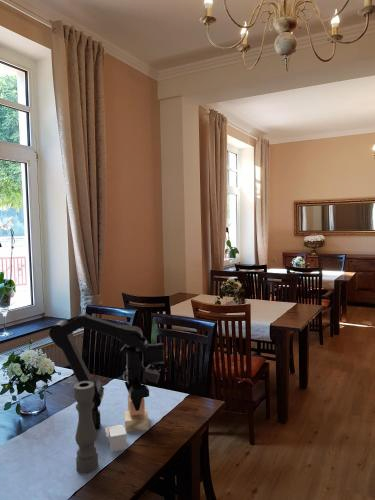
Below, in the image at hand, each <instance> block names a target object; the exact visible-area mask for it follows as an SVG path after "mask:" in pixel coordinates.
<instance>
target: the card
mask: <svg viewBox="0 0 375 500" xmlns="http://www.w3.org/2000/svg"><path fill="white" fill-rule="evenodd" d="M121 426H123V424H117V425H112V426H107V427H104V431H105V436H106V438H109V429H110V428H115V427H121Z"/></svg>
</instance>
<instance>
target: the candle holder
mask: <svg viewBox="0 0 375 500" xmlns="http://www.w3.org/2000/svg"><path fill="white" fill-rule="evenodd" d="M73 393H74V395H73V396H74V399H75V402H77V403H76V405H75V410H77V413H78V421H77V426H76V431H75V442H76V444H77V445H78V450H77V451H76V457H75V462H76V463H75V465H76V471H77V473H79V474H83V475H86V474H87V475H88V474H92V473H93V472H95V471H96V470H97V469H98V467H99V455H98V454H99V453H98V450H97V448H96V447H95V443H96V441H97V438H98V434H97V430H96V429H95V426H94V422H93V419H92V408H93V407H94V403H93V402H92V399H93V397H94V395H95V391H94V382H92V381H82V382H78V381H77V383H74V385H73Z"/></svg>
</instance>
